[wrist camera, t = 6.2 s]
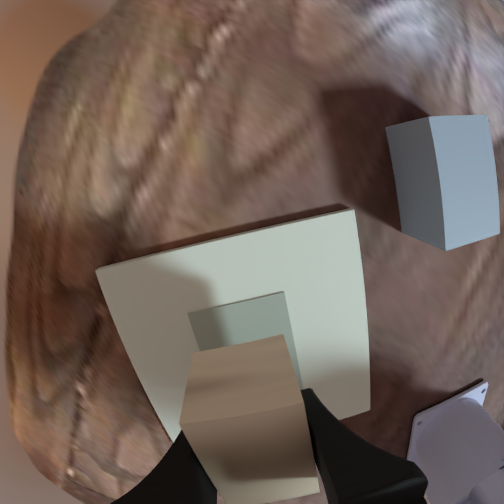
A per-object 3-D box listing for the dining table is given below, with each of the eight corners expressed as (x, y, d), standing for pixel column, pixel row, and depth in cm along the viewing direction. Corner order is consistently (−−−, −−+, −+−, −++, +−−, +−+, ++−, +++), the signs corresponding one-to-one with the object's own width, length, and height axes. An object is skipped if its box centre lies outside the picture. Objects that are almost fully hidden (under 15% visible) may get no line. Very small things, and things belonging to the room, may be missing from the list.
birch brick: (302, 426, 15) (319, 492, 10) (228, 440, 15) (228, 507, 10) (283, 333, 13) (303, 402, 9) (192, 352, 13) (178, 424, 9)
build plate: (367, 405, 20) (370, 410, 19) (178, 443, 20) (177, 450, 19) (349, 208, 16) (354, 209, 15) (99, 267, 16) (94, 271, 16)
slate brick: (451, 219, 17) (499, 233, 12) (400, 232, 17) (445, 250, 12) (438, 122, 15) (486, 115, 11) (383, 127, 15) (428, 116, 11)
